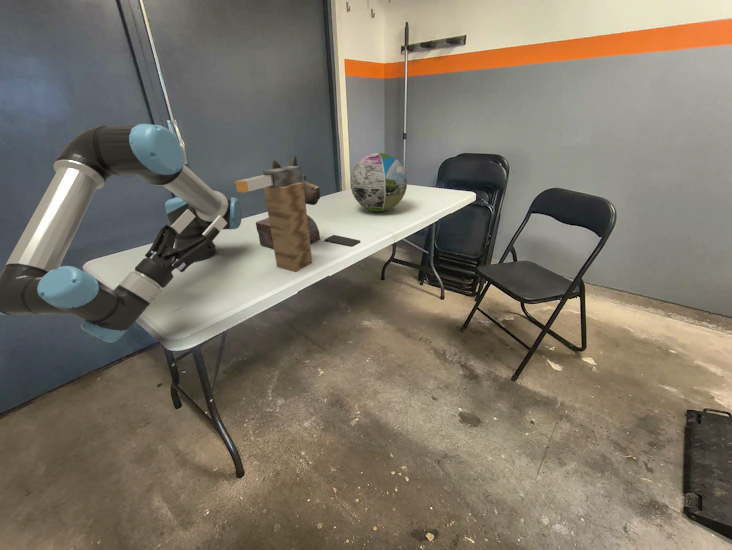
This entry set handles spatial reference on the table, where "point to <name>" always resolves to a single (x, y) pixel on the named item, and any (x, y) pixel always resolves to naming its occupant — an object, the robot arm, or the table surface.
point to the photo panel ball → (378, 182)
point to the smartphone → (342, 240)
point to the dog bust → (310, 198)
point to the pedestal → (288, 218)
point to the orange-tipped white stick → (254, 183)
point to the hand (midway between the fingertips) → (206, 215)
